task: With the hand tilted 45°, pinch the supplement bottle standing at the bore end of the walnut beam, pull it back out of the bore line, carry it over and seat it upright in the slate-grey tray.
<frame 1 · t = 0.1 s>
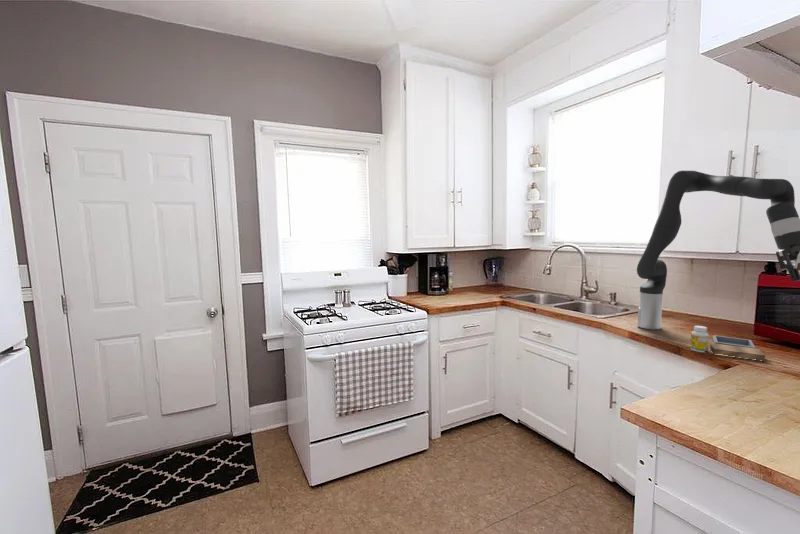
supplement bottle: (698, 350, 144), on the countertop
beam: (735, 355, 138), on the countertop
tray: (732, 347, 147), on the countertop
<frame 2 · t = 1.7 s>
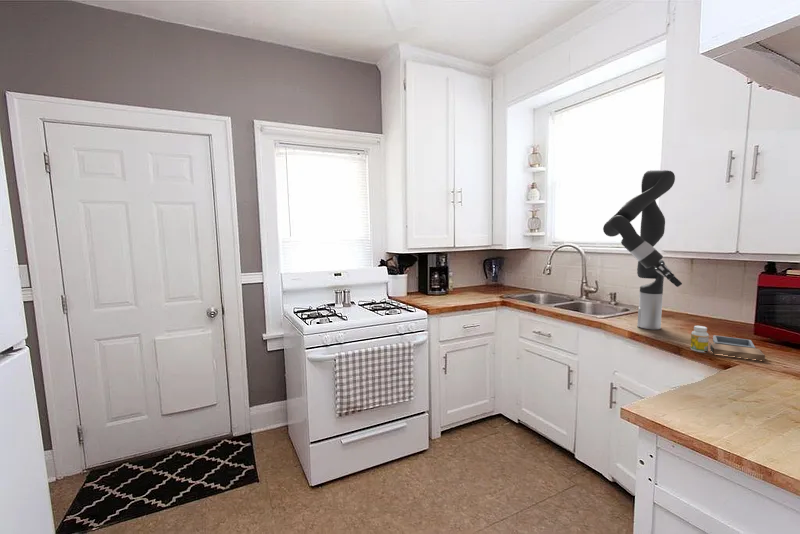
hand: (677, 283, 145), 26 cm above the countertop, tool tilted 45°, fingers open, 8 cm apart
nothing on the countertop moved.
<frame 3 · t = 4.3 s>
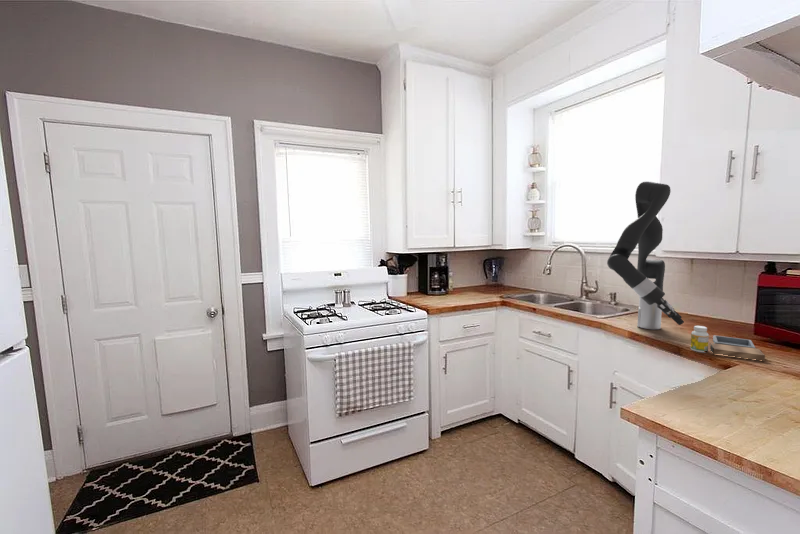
hand: (680, 321, 146), 11 cm above the countertop, tool tilted 45°, fingers open, 8 cm apart
nothing on the countertop moved.
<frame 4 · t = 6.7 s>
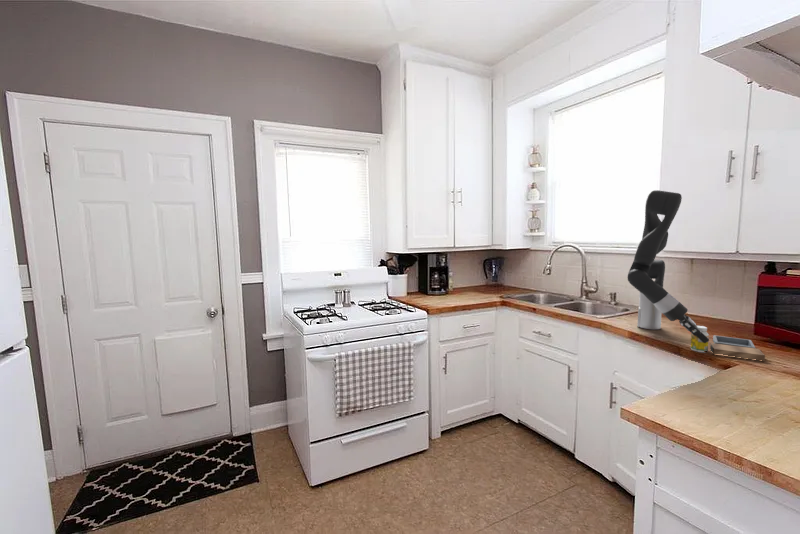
hand: (705, 339, 142), 5 cm above the countertop, tool tilted 45°, fingers closed on supplement bottle, 5 cm apart
supplement bottle: (698, 350, 144), on the countertop, touching gripper
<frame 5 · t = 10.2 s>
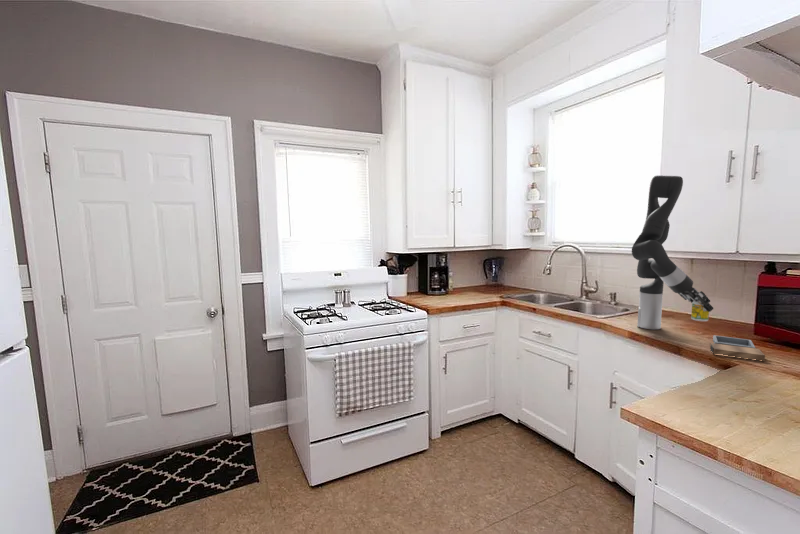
hand: (705, 308, 144), 17 cm above the countertop, tool tilted 45°, fingers closed on supplement bottle, 5 cm apart
supplement bottle: (699, 320, 145), point 12 cm above the countertop, touching gripper
when the fingers open (7 cm above the countertop, at t = 13.9 s): supplement bottle drops 1 cm, resting on tray.
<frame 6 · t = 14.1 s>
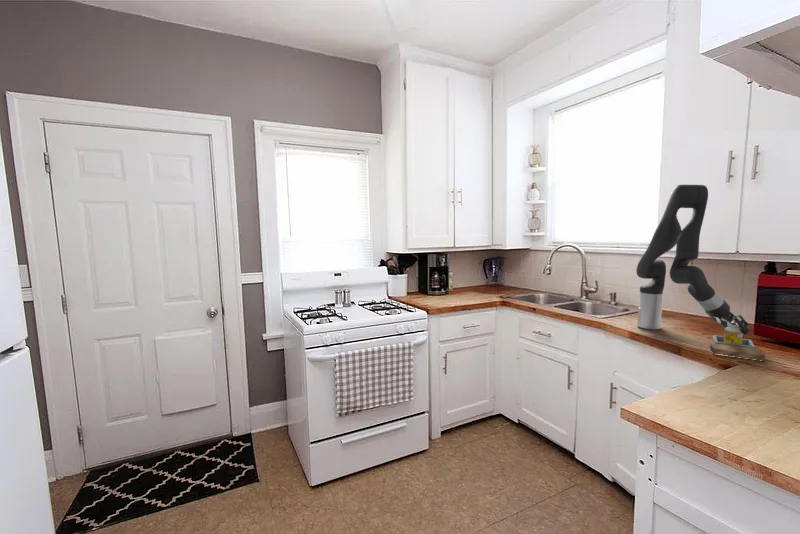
hand: (737, 330, 146), 7 cm above the countertop, tool tilted 45°, fingers open, 7 cm apart
supplement bottle: (732, 346, 146), resting on tray
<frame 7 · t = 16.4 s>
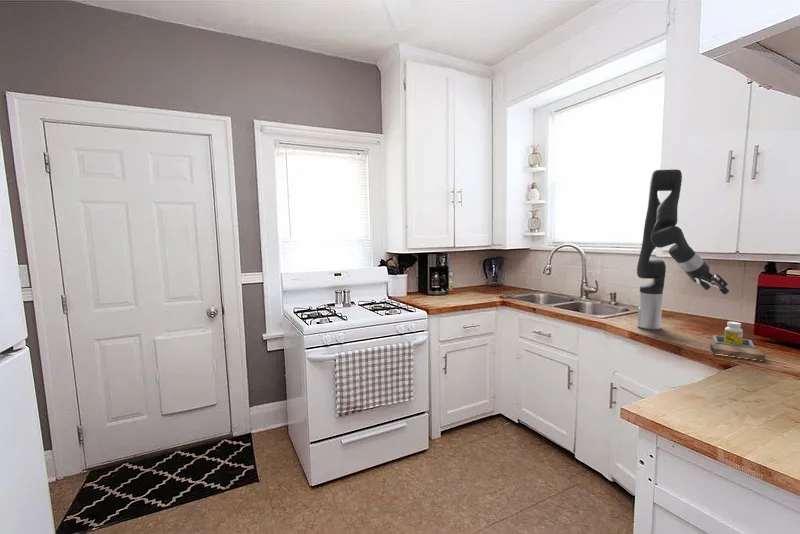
hand: (717, 290, 149), 22 cm above the countertop, tool tilted 45°, fingers open, 8 cm apart
nothing on the countertop moved.
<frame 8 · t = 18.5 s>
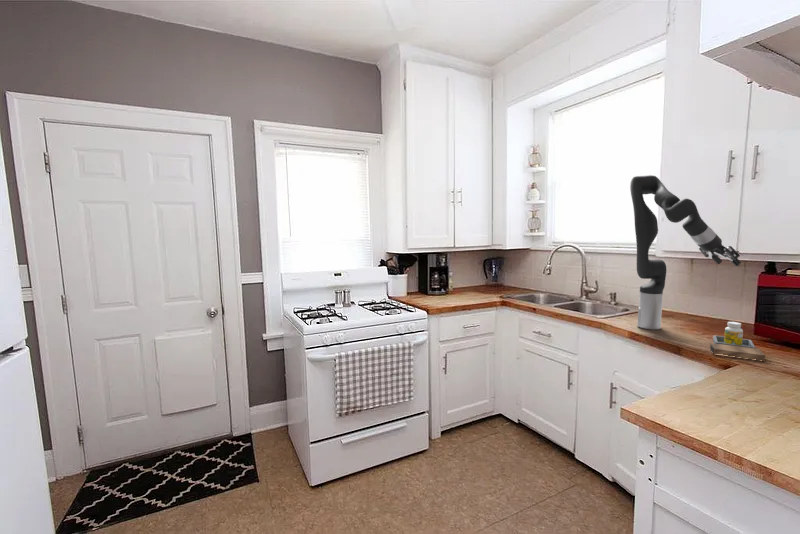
hand: (728, 263, 156), 33 cm above the countertop, tool tilted 45°, fingers open, 8 cm apart
nothing on the countertop moved.
at the end: supplement bottle inside the target area on the tray (0.3 cm from its centre), point 0.3 cm above the tray's base; supplement bottle tilted 0°; the gripper is holding nothing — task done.
